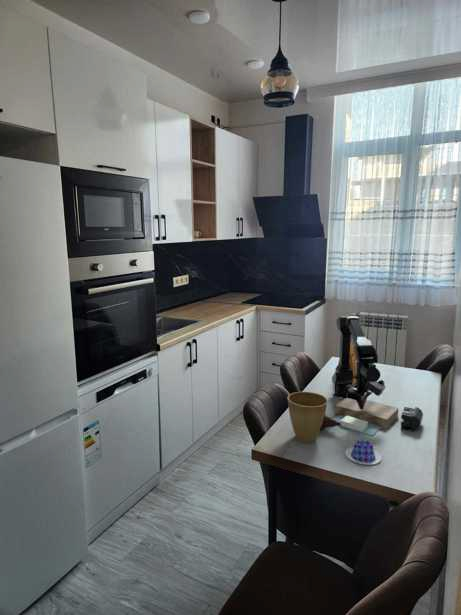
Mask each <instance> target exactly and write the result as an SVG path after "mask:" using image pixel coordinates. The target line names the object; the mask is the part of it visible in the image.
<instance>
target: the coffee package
mask: <svg viewBox="0 0 461 615" xmlns="http://www.w3.org/2000/svg"><path fill="white" fill-rule="evenodd" d="M354 347H355V346H354V345H353V343H352V342H351V343H350V362H349V366H350V367H351V369H352V371H353V375H354V376H355V375H356V367H357V360H356V357H355V354H354ZM338 364H339V362H338ZM338 364H337V365H338ZM355 384H356V379H355V378H353V383H352V385H349V387H354V385H355Z"/></svg>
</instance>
